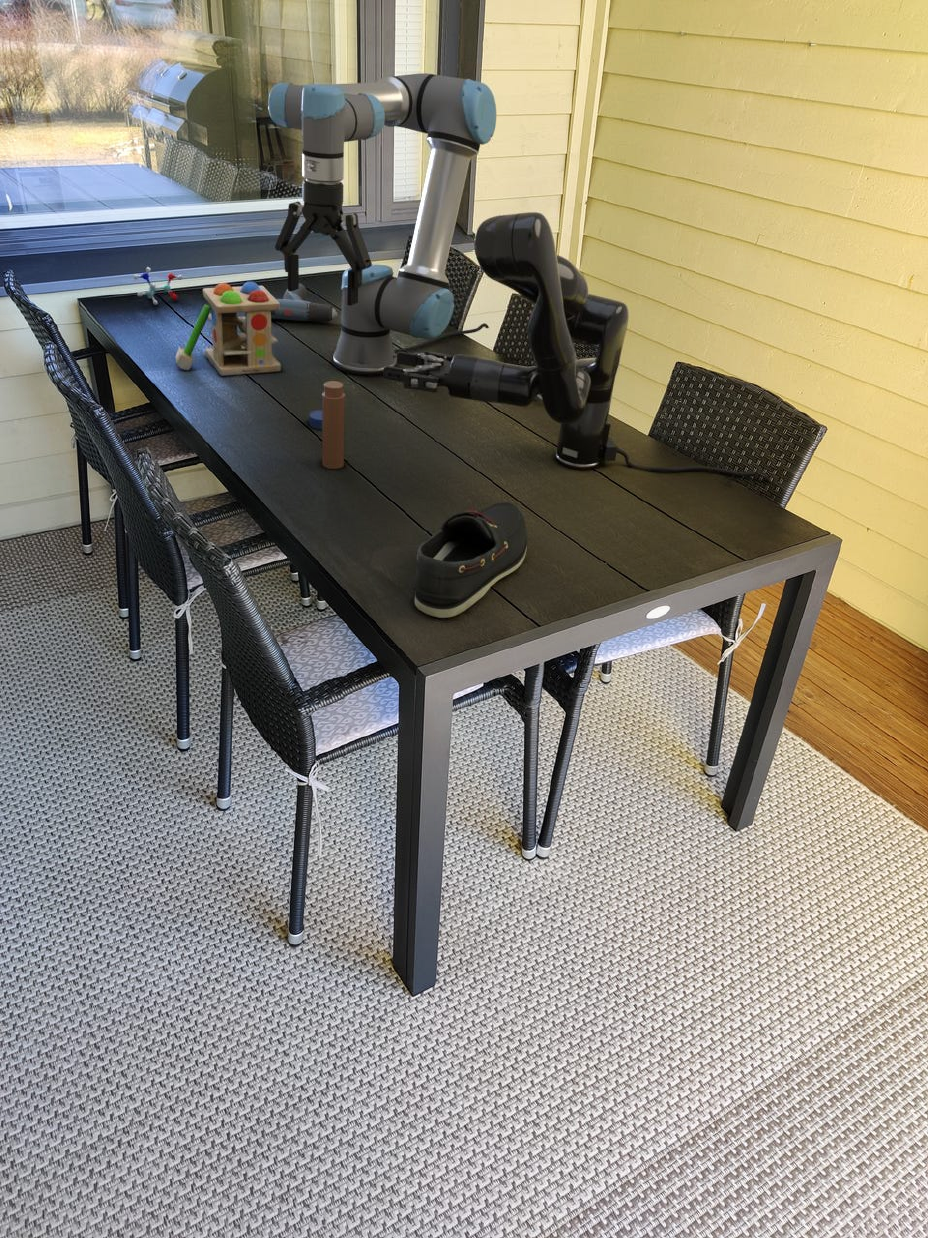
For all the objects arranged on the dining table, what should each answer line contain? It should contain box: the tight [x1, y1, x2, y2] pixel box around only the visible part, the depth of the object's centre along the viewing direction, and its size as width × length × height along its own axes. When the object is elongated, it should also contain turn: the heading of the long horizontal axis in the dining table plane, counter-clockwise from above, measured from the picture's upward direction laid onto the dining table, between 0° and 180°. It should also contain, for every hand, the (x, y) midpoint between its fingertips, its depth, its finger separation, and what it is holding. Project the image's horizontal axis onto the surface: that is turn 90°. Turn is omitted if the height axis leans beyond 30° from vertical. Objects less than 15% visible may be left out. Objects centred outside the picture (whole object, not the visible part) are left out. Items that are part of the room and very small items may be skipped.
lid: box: [309, 409, 322, 430], centre depth 206 cm, size 5×5×2 cm
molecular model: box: [133, 266, 183, 306], centre depth 263 cm, size 12×10×10 cm
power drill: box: [271, 282, 338, 322], centre depth 265 cm, size 5×19×20 cm
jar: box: [321, 380, 346, 470], centre depth 187 cm, size 4×4×16 cm
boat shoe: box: [412, 501, 528, 619], centre depth 161 cm, size 13×33×10 cm, turn 147°
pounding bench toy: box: [174, 281, 282, 377], centre depth 225 cm, size 23×14×18 cm, turn 116°
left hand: (322, 296), depth 192 cm, fingers open, 13 cm apart
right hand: (390, 364), depth 178 cm, fingers open, 8 cm apart
